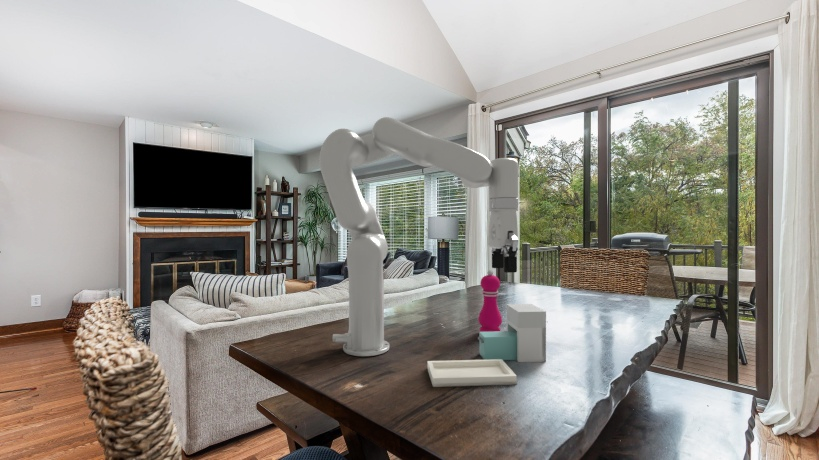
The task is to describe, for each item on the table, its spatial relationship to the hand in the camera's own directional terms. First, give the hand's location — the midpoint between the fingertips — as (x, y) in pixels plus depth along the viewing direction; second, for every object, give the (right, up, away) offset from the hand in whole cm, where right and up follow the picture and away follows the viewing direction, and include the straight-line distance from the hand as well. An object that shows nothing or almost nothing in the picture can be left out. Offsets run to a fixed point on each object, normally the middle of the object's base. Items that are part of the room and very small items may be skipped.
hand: (503, 270), depth 99 cm
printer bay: (+5, -22, -2) cm, 23 cm away
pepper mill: (0, -22, +18) cm, 28 cm away
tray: (-12, -22, -15) cm, 29 cm away
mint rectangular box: (0, -22, -2) cm, 22 cm away
